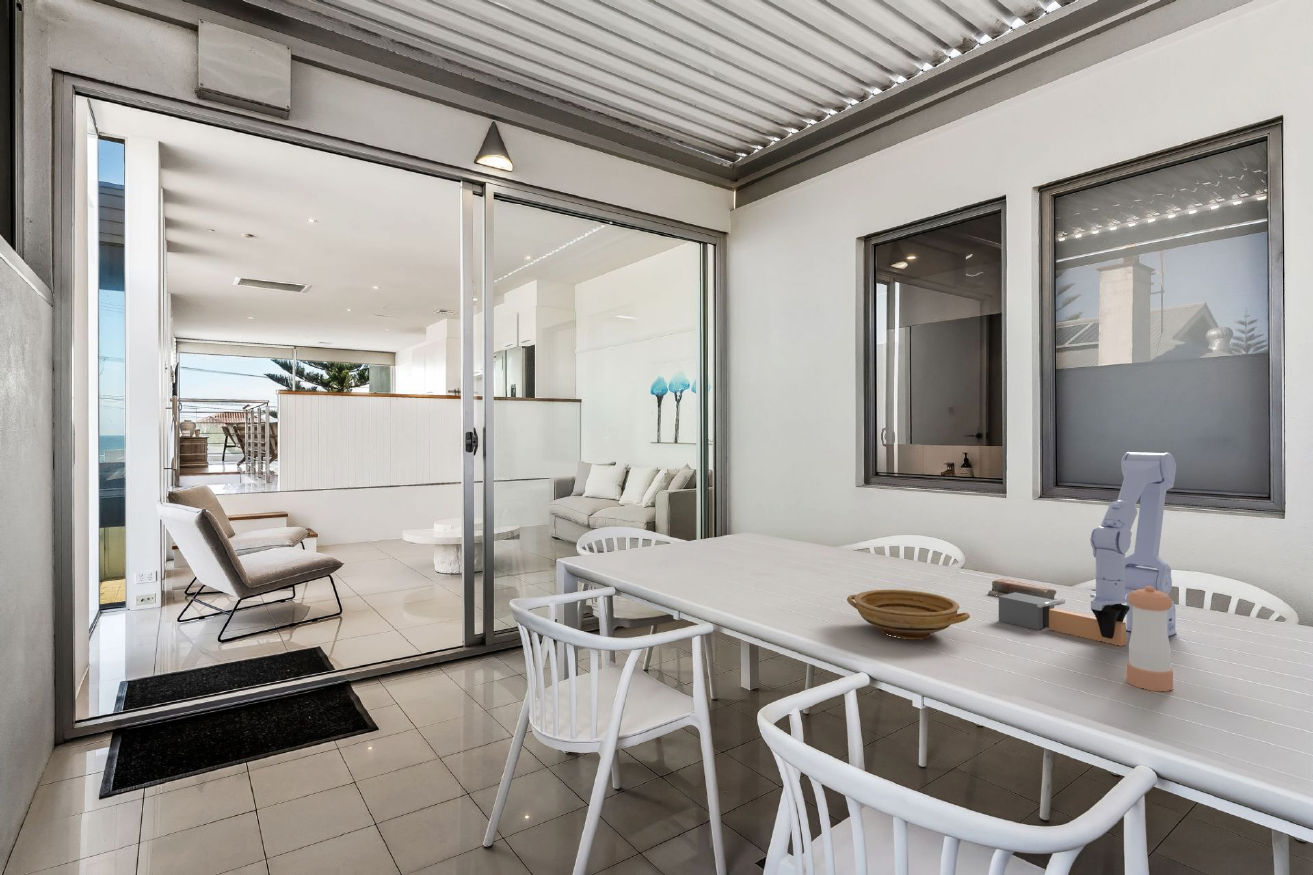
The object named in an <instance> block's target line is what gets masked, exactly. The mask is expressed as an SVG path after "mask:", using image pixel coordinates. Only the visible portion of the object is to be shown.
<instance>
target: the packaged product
mask: <svg viewBox="0 0 1313 875" xmlns="http://www.w3.org/2000/svg"><path fill="white" fill-rule="evenodd" d="M991 585H992V586H991V590H988V592H987V593H988V594H990V595H989V596H992V595H997V596H1002V595H1006V594H1010V593H1015V592H1016V593H1021V594H1026V595H1031V596H1037V597H1042V598H1047V599H1052V600H1057V601H1058V603H1056V604H1054V606H1058V605H1061V604H1065V603H1066V599H1061V598H1058V597H1055V596H1056V594H1057V590H1056V589H1053V588H1049V587H1044V586H1039V585H1035V584H1030V583H1026V582H1022V581H1016V580H1011V579H1005V578H1000V579H996V580H993V581H991ZM997 596H996V597H997ZM1057 604H1058V605H1057Z"/></svg>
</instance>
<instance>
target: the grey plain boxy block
mask: <svg viewBox="0 0 1313 875" xmlns="http://www.w3.org/2000/svg"><path fill="white" fill-rule="evenodd" d="M1056 603H1058V601H1057V600H1052V599H1047V598H1042V597H1037V596H1031V595H1026V594H1021V593H1016V592H1015V593H1010V594H1006V595H1002V596H999V597H998V621H999V622H1001V621H1003V622H1002V623H1005V622H1006V624H1010V623H1012V624H1011V625H1014V624H1015V626H1017V627H1018V626H1020V627H1022V626H1024V627H1023V628H1027V629H1031V628H1033V629H1032V630H1036V631H1039V630H1042V628H1043V629H1044V626H1045V627H1049V609H1053V608H1055V605H1054V604H1056Z"/></svg>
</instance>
